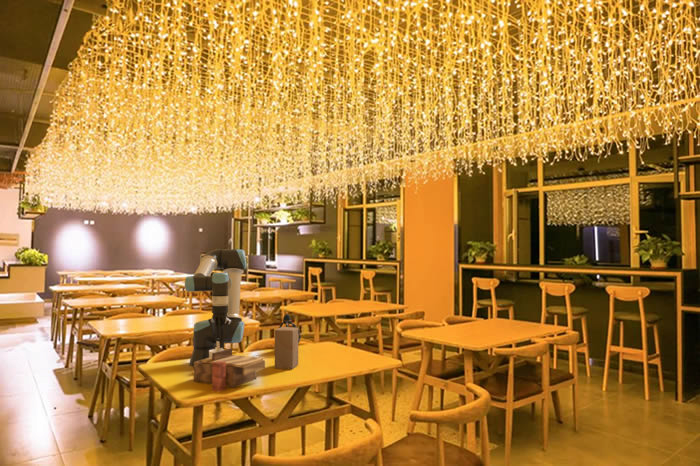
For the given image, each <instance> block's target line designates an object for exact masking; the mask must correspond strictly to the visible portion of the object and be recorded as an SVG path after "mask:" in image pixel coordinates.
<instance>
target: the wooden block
mask: <svg viewBox="0 0 700 466" xmlns="http://www.w3.org/2000/svg"><path fill="white" fill-rule="evenodd" d="M298 329H299V328H298V327H297V328H296V327H291V326H288V327H286V326H282V327H281V328H279V327H278V328H276V329H274V339H275V340H274V369H276V370H277V369H280V370H294V368H296V367H298V366H299V343H298V338H299V335H298Z"/></svg>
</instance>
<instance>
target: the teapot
mask: <svg viewBox="0 0 700 466" xmlns="http://www.w3.org/2000/svg"><path fill="white" fill-rule="evenodd" d="M289 324H290V325H291V326H292V327H296V328H298V326H297V325H296V324H295V323H294V322H292V318H291V316H290V314H288V313H286V314H284V316H283V318H282V322H281V323H280V325H279V327H278V328H281V327H283V325H285V327H289ZM301 337H302V335H301V332H300V329H299V328H298V344H299V343H300V342H301V339H302V338H301ZM274 341H275V338H274Z"/></svg>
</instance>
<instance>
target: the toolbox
mask: <svg viewBox="0 0 700 466" xmlns="http://www.w3.org/2000/svg"><path fill="white" fill-rule="evenodd" d="M192 380H193V382H194V383H195V382H196V383H199V384H200V383H202V384H208V385H212V363H204V362H201V360H199V361H196V362H194V366H193V379H192ZM254 380H257V371H256V372H254V373H251V374H248V375H246V376H243V368H242V367H234V366H227V365H226V388H232V389H234V388H237V387H239V386H242V385H244V384H247V383H249V382H251V381H254Z"/></svg>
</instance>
